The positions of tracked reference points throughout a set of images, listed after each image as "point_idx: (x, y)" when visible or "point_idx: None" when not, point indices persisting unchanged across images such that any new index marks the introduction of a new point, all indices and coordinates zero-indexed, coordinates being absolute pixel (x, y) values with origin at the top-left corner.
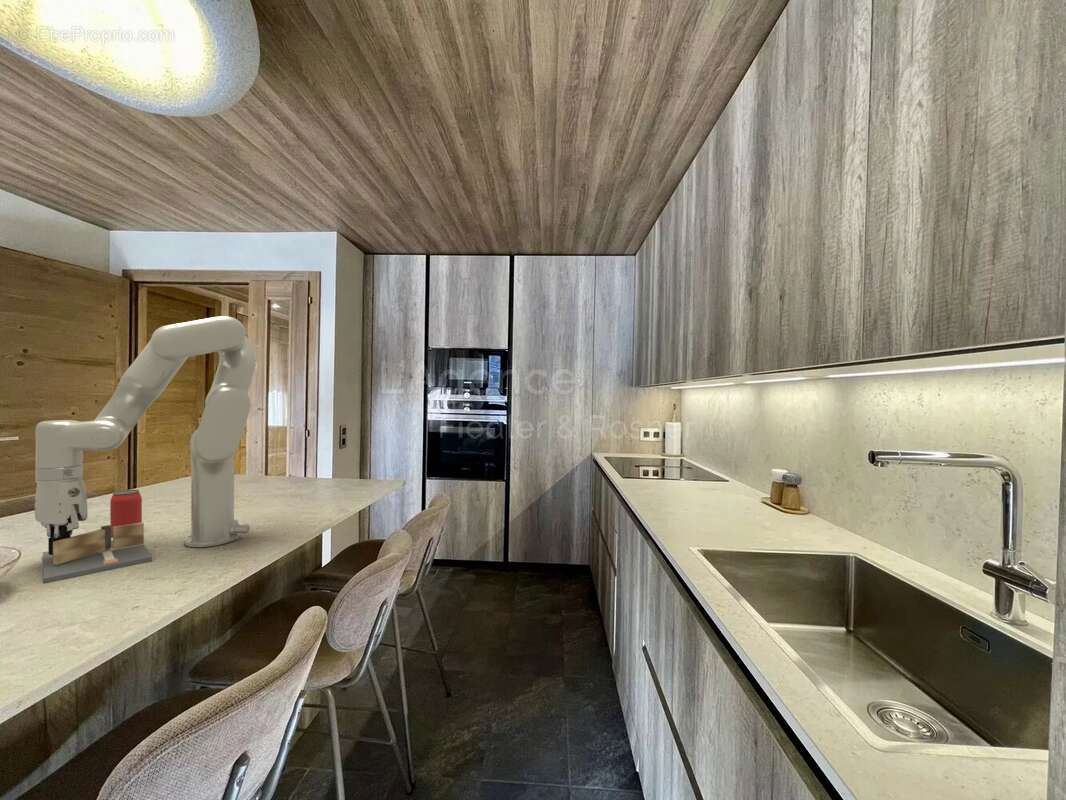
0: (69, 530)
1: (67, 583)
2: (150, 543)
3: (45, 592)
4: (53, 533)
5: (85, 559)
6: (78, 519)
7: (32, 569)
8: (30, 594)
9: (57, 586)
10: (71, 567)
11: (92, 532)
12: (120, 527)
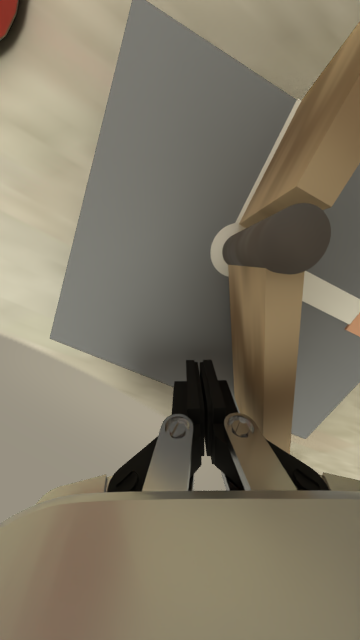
0: (283, 465)
1: (354, 415)
2: (270, 49)
3: (354, 448)
4: (194, 470)
5: None
6: (323, 503)
7: (166, 393)
8: (333, 459)
9: (348, 428)
10: (295, 384)
11: (294, 339)
12: (356, 159)
